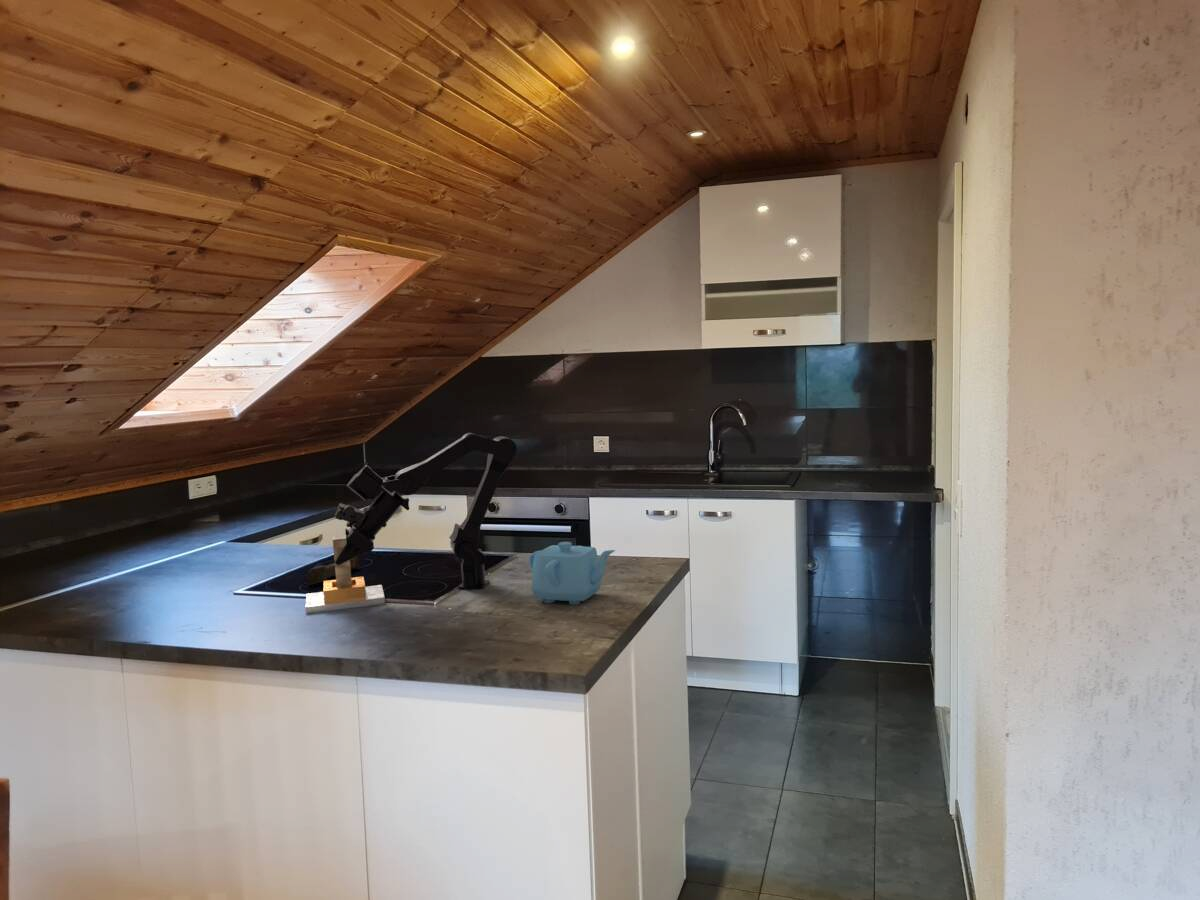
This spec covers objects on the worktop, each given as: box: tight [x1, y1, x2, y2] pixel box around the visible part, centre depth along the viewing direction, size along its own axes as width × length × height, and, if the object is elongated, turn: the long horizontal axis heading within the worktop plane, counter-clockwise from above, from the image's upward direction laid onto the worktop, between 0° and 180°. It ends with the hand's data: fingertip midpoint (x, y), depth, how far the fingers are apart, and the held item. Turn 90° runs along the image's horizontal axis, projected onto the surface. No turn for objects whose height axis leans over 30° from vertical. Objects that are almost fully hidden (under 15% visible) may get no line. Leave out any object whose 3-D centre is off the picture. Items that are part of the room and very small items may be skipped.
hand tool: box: [307, 556, 360, 587], centre depth 236 cm, size 19×4×5 cm, turn 156°
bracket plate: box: [305, 576, 386, 614], centre depth 211 cm, size 18×12×4 cm, turn 107°
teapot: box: [528, 541, 616, 606], centre depth 206 cm, size 18×16×14 cm
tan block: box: [332, 535, 352, 587], centre depth 211 cm, size 4×4×13 cm
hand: (336, 562), depth 210 cm, fingers closed on tan block, 3 cm apart
